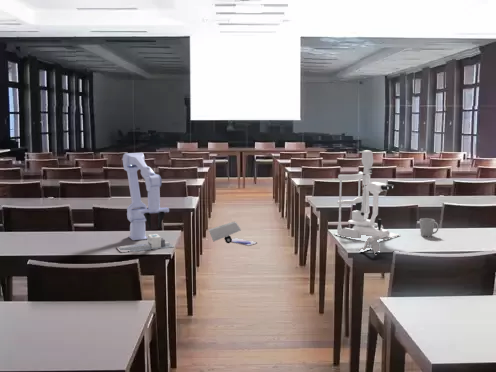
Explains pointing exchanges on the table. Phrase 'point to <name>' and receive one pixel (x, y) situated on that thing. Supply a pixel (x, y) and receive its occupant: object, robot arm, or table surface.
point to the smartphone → (243, 242)
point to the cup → (427, 226)
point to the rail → (145, 246)
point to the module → (154, 240)
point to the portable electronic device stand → (373, 243)
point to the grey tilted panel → (224, 231)
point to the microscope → (364, 204)
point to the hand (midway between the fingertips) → (154, 227)
